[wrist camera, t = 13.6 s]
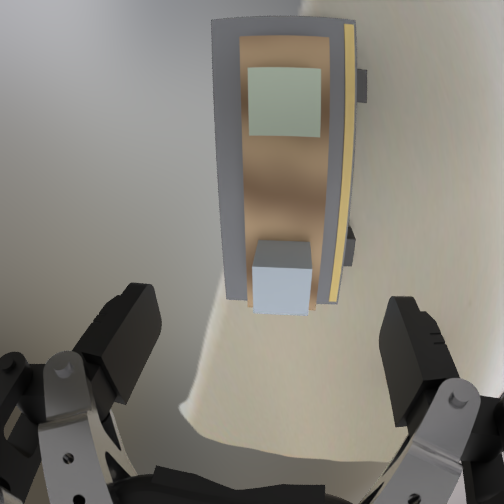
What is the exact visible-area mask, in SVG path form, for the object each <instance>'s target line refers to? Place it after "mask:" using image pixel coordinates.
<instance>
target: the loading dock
mask: <svg viewBox="0 0 504 504" xmlns="http://www.w3.org/2000/svg"><path fill="white" fill-rule="evenodd" d="M211 30H212V31H211V33H212V69H213V94H214V95H213V96H214V118H215V119H214V120H215V140H216V159H217V174H218V175H217V176H218V193H219V208H220V223H221V237H222V250H223V263H224V276H225V288H226V299H229V300H246V301H248V300H247V273H246V244H245V215H244V184H243V152H242V118H241V81H240V41H239V37H240V36H266V35H292V36H317V37H329V46H330V119H329V151H328V173H327V190H326V206H325V219H324V232H323V243H322V254H321V264H320V274H319V283H318V292H317V301H316V304H337V303H338V297H339V291H340V285H341V278H342V271H343V266H352V262H353V255H354V248H355V241H356V239H355V237H354V234H353V231H352V229H351V227H348V224H349V214H350V204H351V194H352V182H353V168H354V153H355V134H356V105H357V102H361V103H367V70H362V69H357V50H356V22H355V20H348V19H338V18H326V17H309V16H255V17H237V18H224V19H214V20H211Z"/></svg>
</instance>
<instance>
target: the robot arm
mask: <svg viewBox="0 0 504 504" xmlns="http://www.w3.org/2000/svg"><path fill="white" fill-rule="evenodd" d="M161 326H162V321H161V315H160V311H159V307H158V303H157V299H156V295H155V291H154V287H153V286H152V285H151V284H143V283H130V284H129V285H128V286H127V287H126V289H125V290H124V292H123V293H122V294H121V295H117V296H116V297H114V298H113V299H111V300H110V301H109V302H107V303H106V304H105V306H104V307H103V308H102V310H101V311H100V312H99V315H97V316H96V318H95V319H94V320H93V323H91V324H90V326H89V327H88V329H87V330H86V331H85V333H84V334H83V336H82V337H81V338H80V340H79V341H78V343H77V344H76V345H75V347H74V348H73V350H72V351H63V352H59V353H57V354H55V355H53V356H52V357H51V358H50V359H49V360H48V361H47V362H46V364H28V362H27V360H26V359H25V357H24V356H23V354H21V353H19V352H10V353H7V354H5V355H3V356H2V357H1V358H0V504H24V503H25V499H26V497H27V495H28V492H29V489H30V487H31V484H32V482H33V479H34V477H35V474H36V472H37V470H38V467H39V465H40V463H41V460H42V464H43V470H44V476H45V481H46V486H47V490H48V495H49V499H50V504H352V503H350V502H349V501H346V500H344V499H342V498H339V497H336V496H333V495H329V494H325V485H288V484H287V485H286V484H281V485H275V486H268V487H261V488H253V489H245V490H234V489H231V488H228V487H226V486H223V485H220V484H218V483H215V482H213V481H210V480H208V479H205V478H203V477H201V476H198V475H196V474H192V473H187V472H182V471H178V470H173V469H169V468H165V467H160V466H156V468H155V471H154V474H145V475H137V473H136V471H135V470H134V468H133V466H132V464H131V463H130V461H129V459H128V457H127V455H126V452H125V449H124V446H123V443H122V440H121V437H120V434H119V431H118V428H117V425H116V422H115V418H114V415H113V412H112V410H111V407H112V405H113V403H114V402H117V403H121V404H124V405H126V404H127V402H128V399H129V398H130V395H131V393H132V391H133V389H134V387H135V385H136V382H137V381H138V378H139V376H140V374H141V372H142V370H143V368H144V366H145V364H146V362H147V360H148V358H149V356H150V354H151V351H152V349H153V347H154V345H155V343H156V341H157V339H158V337H159V335H160V332H161ZM379 349H380V353H381V357H382V362H383V366H384V371H385V375H386V380H387V385H388V389H389V394H390V400H391V405H392V410H393V416H394V421H395V427H404V426H407V428H408V433H409V434H408V435H407V436H406V438H405V439H404V441H403V443H402V444H401V446H400V447H399V449H398V451H397V452H396V454H395V455H394V457H393V458H392V460H391V461H390V463H389V464H388V466H387V467H386V469H385V470H384V472H383V473H382V475H381V476H380V477H379V479H378V480H377V481H376V483H375V484H374V485H373V487H372V488H371V489H370V490H369V491H368V492H367V494H366V495H365V496H364V497H363V499H362V500H361V501H360V502H359V503H358V504H447V502H448V500H449V498H450V496H451V494H452V492H453V490H454V488H455V486H456V484H457V482H458V479H459V477H460V475H461V472H462V469H463V476H464V484H465V492H466V501H467V504H504V462H503V458H502V452H503V451H504V396H503V397H502V399H500V398H493V397H486V396H481V395H479V392H478V390H477V389H476V387H475V386H474V385H473V384H472V383H470V382H469V381H467V380H464V379H461V378H460V377H459V374H458V372H457V369H456V367H455V364H454V362H453V359H452V357H451V355H450V352H449V350H448V348H447V345H446V344H445V341H444V338H443V336H442V335H441V332H440V329H439V327H438V325H437V323H436V321H435V320H434V319H433V318H432V317H431V316H430V315H429V314H428V313H427V312H426V311H420V310H419V308H418V306H417V303H416V301H415V299H414V298H413V297H409V296H392V297H391V298H390V299H389V302H388V306H387V309H386V313H385V316H384V320H383V323H382V327H381V330H380V335H379ZM15 406H17V407H18V408H19V409H20V410H21V411H22V413H21V415H20V417H19V419H18V421H17V422H16V424H15V426H14V428H13V430H12V432H11V434H10V436H9V438H8V440H6V439H5V437H4V426H5V424H6V422H7V420H8V419H9V417H10V415H11V413H12V411H13V410H14V408H15ZM460 460H461V463H462V464H460V463H459V461H460Z"/></svg>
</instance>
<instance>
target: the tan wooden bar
mask: <svg viewBox="0 0 504 504" xmlns="http://www.w3.org/2000/svg"><path fill="white" fill-rule="evenodd" d="M239 41H240V81H241V118H242V152H243V184H244V215H245V244H246V273H247V300H248V307H253V281H252V265H253V261H254V257H255V252H256V248H257V244H258V240H274V241H300V242H310V246H311V258H312V279H311V290H310V300H309V309H308V310H315V309H316V301H317V292H318V283H319V274H320V264H321V254H322V243H323V232H324V219H325V206H326V190H327V173H328V151H329V119H330V46H329V37H317V36H292V35H266V36H240V37H239ZM252 67H294V68H317V69H321V125H320V137H301V136H249V111H248V68H252Z"/></svg>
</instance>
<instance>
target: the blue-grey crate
mask: <svg viewBox="0 0 504 504" xmlns="http://www.w3.org/2000/svg"><path fill="white" fill-rule="evenodd" d="M311 279H312V258H311V246H310V242H300V241H274V240H258V244H257V248H256V252H255V257H254V261H253V265H252V281H253V313H260V314H280V315H303V316H308V309H309V300H310V290H311Z"/></svg>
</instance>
